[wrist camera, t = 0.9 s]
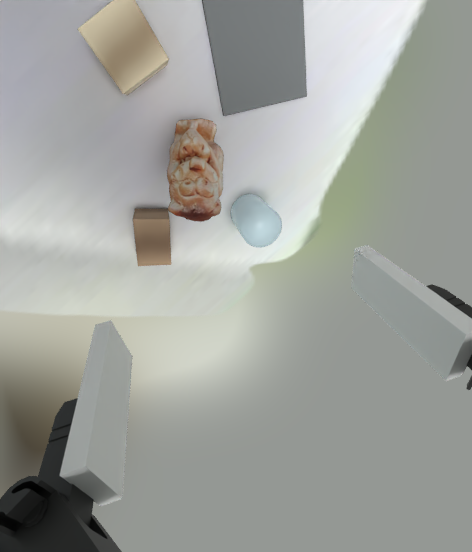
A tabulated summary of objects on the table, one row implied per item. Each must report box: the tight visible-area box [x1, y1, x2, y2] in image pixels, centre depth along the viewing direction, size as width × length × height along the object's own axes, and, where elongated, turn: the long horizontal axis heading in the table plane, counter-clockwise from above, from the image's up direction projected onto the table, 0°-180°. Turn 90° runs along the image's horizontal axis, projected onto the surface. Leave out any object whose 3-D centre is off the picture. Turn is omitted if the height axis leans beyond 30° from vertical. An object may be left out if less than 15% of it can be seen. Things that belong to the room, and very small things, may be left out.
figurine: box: [167, 119, 224, 221], centre depth 27 cm, size 6×8×15 cm
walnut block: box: [133, 209, 171, 266], centre depth 35 cm, size 6×4×4 cm, turn 175°
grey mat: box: [202, 0, 307, 116], centre depth 30 cm, size 10×10×1 cm
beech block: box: [78, 0, 169, 95], centre depth 25 cm, size 5×5×5 cm
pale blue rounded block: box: [231, 194, 282, 247], centre depth 36 cm, size 5×5×6 cm
